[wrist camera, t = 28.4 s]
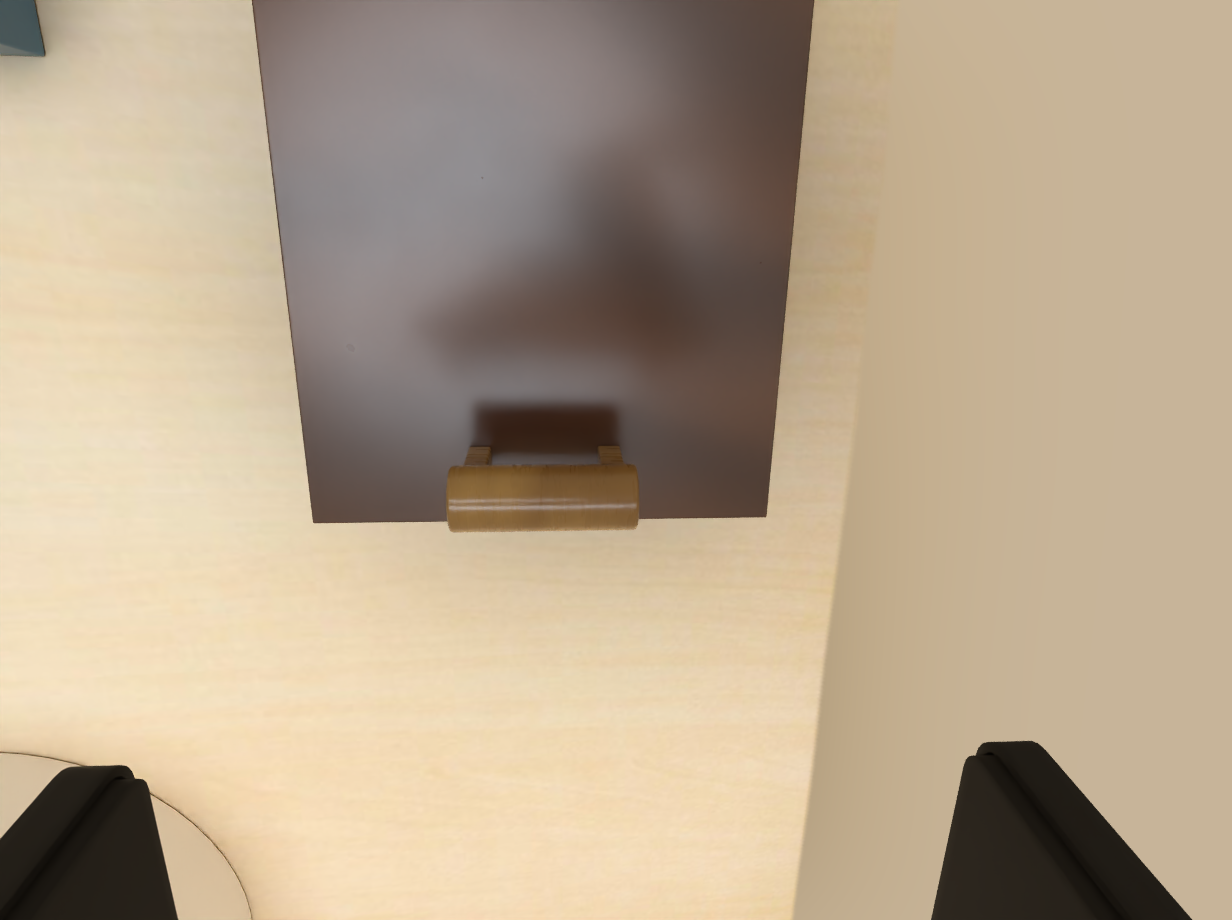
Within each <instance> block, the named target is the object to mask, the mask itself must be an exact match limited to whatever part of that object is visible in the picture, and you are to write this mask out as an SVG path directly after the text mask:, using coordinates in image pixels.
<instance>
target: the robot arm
mask: <svg viewBox="0 0 1232 920" xmlns="http://www.w3.org/2000/svg"><path fill="white" fill-rule="evenodd" d="M0 920H178V916H177V912H176V908H175V903H174V899H173V894H172V890H171V885H170V881H169V876H168V872H167V867H166V863H165V859H164V854H163V850H162V845H161V841H160V836H159V832H158V827H157V823H156V818H155V814H154V810H153V805H152V801H151V796H150V792H149V788H148V785H147V783H146V782H145V781H144V780H143V779H135V778H134V775H133V773H132V771H131V770H130V769H129V768H128V767H127V766H122V765H114V766H76V767H68V768H66V769H63V770H61V771H60V772H59V773H58V774H57V775H56V776H55V777H54V778H53V779H52V780H51V781H50V782H49V783H48V785H47V786H46V787H45V788H44V789H43V790H42V791H41V793H40V794H39V795H38V796H37V797H36V798H35V799H34V801H33V802H32V803H31V804H30V805H29V806H28V807H27V809H26V810H25V811H24V812H23V813H22V814H21V815H20V817H19V818H18V819H17V820H16V821H15V822H14V823H13V825H12V826H11V827H10V828H9V829H8V830H7V832H6V833H5V834H4V835H3V836H2V837H1V838H0ZM931 920H1192V919H1191V918H1190V917H1189V915H1188V914H1187V913H1186V912H1185V911H1184V910H1183V909H1182V907H1181V906H1180V905H1179V904H1178V903H1177V902H1176V900H1175V899H1174V898H1173V897H1172V896H1171V895H1170V894H1169V892H1168V891H1167V890H1166V889H1165V888H1164V887H1163V885H1162V884H1161V883H1160V882H1159V881H1158V880H1157V879H1156V877H1155V876H1154V875H1153V874H1152V873H1151V872H1150V870H1149V869H1148V868H1147V867H1146V866H1145V865H1144V864H1143V862H1142V861H1141V860H1140V859H1139V858H1138V857H1137V855H1136V854H1135V853H1134V852H1133V851H1132V850H1131V848H1130V847H1129V846H1128V845H1127V844H1126V843H1125V841H1124V840H1123V839H1122V838H1121V837H1120V836H1119V835H1118V833H1117V832H1116V831H1115V830H1114V829H1113V828H1112V827H1111V825H1110V824H1109V823H1108V822H1107V821H1106V820H1105V818H1104V817H1103V816H1102V815H1101V814H1100V813H1099V811H1098V810H1097V809H1096V808H1095V807H1094V806H1093V804H1092V803H1091V802H1090V801H1089V800H1088V799H1087V798H1086V796H1085V795H1084V794H1083V793H1082V792H1081V791H1080V790H1079V788H1078V787H1077V786H1076V785H1075V784H1074V782H1073V781H1072V780H1071V779H1070V778H1069V777H1068V776H1067V774H1066V773H1065V772H1064V771H1063V770H1062V769H1061V768H1060V766H1059V765H1058V764H1057V763H1056V762H1055V761H1054V759H1053V758H1052V757H1051V756H1050V755H1049V754H1048V753H1047V751H1046V750H1045V749H1044V748H1043V747H1042V746H1040V745H1039V744H1038V743H1035V742H1033V741H1014V742H986V743H983V744H982V745H981V746H980V747H979V748H978V750H977V753H976V756H969V757H968V758H967V759H966V761H965V764H964V767H963V772H962V776H961V781H960V786H959V791H958V795H957V800H956V805H955V810H954V815H953V819H952V824H951V829H950V833H949V838H948V843H947V847H946V852H945V857H944V862H943V867H942V871H941V876H940V881H939V885H938V890H937V895H936V900H935V904H934V909H933V914H932V918H931Z"/></svg>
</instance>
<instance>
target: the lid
mask: <svg viewBox="0 0 1232 920" xmlns="http://www.w3.org/2000/svg"><path fill="white" fill-rule="evenodd" d="M252 5H253V14H254V23H255V31H256V40H257V48H258V57H259V65H260V74H261V82H262V91H263V99H264V108H265V116H266V125H267V133H268V142H269V151H270V159H271V168H272V176H273V185H274V193H275V202H276V210H277V219H278V227H279V236H280V244H281V253H282V261H283V270H284V278H285V287H286V296H287V304H288V313H289V321H290V330H291V338H292V347H293V355H294V364H295V372H296V381H297V389H298V398H299V406H300V415H301V423H302V432H303V441H304V449H305V458H306V466H307V475H308V483H309V492H310V500H311V509H312V517H313V523H363V522H438V521H447V522H448V526H449V529H450V531H451V532H513V531H582V530H634V529H636V527H637V525H638V519H664V518H740V517H766V515H767V504H768V493H769V483H770V472H771V461H772V450H773V439H774V429H775V418H776V407H777V396H778V385H779V375H780V364H781V353H782V342H783V331H784V321H785V310H786V299H787V288H788V277H789V267H790V256H791V245H792V234H793V223H794V213H795V202H796V191H797V180H798V169H799V159H800V148H801V137H802V126H803V115H804V105H805V94H806V83H807V72H808V61H809V51H810V40H811V29H812V18H813V7H814V0H252Z"/></svg>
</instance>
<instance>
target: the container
mask: <svg viewBox="0 0 1232 920" xmlns="http://www.w3.org/2000/svg"><path fill="white" fill-rule="evenodd" d="M76 766H80V765H76V764H72V763H68V762H63V761H59V760H54V759H50V758H44V757H37V756H30V755H22V754H9V753H0V838H1V837H2V836H3V835H4V834H5V833H6V832H7V830H8V829H9V828H10V827H11V826H12V825H13V823H14V822H15V821H16V820H17V819H18V818H19V817H20V815H21V814H22V813H23V812H24V811H25V810H26V809H27V807H28V806H29V805H30V804H31V803H32V802H33V801H34V799H35V798H36V797H37V796H38V795H39V794H40V793H41V791H42V790H43V789H44V788H45V787H46V786H47V785H48V783H49V782H50V781H51V780H52V779H53V778H54V777H55V776H56V775H57V774H58V773H59V772H60V771H61V770H63V769H66V768H68V767H76ZM150 796H151V801H152V805H153V810H154V814H155V818H156V823H157V827H158V832H159V836H160V841H161V845H162V850H163V854H164V859H165V863H166V867H167V872H168V876H169V881H170V885H171V890H172V894H173V899H174V903H175V908H176V912H177V916H178V920H252V919H251V912H250V909H249V905H248V902H247V899H246V896H245V893H244V891H243V889H242V887H241V884H240V882H239V880H238V878H237V876H236V874H235V873H234V871H233V870H232V868H231V867H230V865H229V863H228V862H227V860H226V859H225V857H224V856H223V855H222V854H221V853H220V851H219V850H218V849H217V848H216V847H215V845H214V844H213V843H212V842H211V841H210V840H209V839H208V838H207V837H206V836H205V835H204V834H203V833H202V832H201V831H200V830H199V829H198V828H197V827H196V826H195V825H194V824H192V823H191V822H190V821H188V820H187V819H186V818H185V817H183V816H182V815H181V814H180V813H178V812H177V811H176V810H174V809H173V808H171V807H170V806H168V805H167V804H165V803H163V802H162V801H160V800H159V799H157V798H156V797H154V796H152V795H150Z"/></svg>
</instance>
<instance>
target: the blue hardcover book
mask: <svg viewBox="0 0 1232 920" xmlns="http://www.w3.org/2000/svg"><path fill="white" fill-rule="evenodd" d="M0 55H15V56H44V55H45V53H44V48H43V43H42V38H41V33H40V28H39V23H38V18H37V13H36V8H35V3H34V0H0Z"/></svg>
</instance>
